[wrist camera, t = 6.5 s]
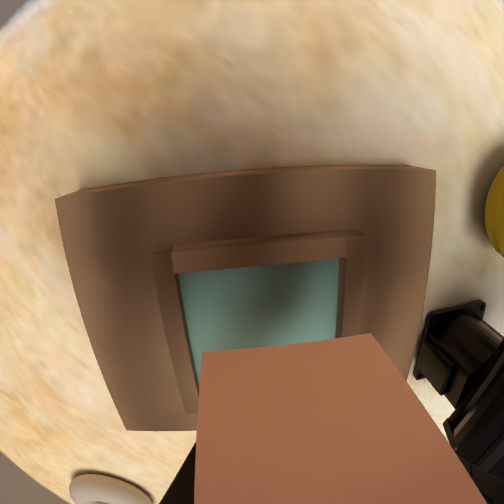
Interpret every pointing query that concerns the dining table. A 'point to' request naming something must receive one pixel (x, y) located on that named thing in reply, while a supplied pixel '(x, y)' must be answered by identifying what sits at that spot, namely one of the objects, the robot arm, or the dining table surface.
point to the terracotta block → (319, 430)
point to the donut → (105, 491)
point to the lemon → (496, 212)
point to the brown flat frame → (243, 271)
